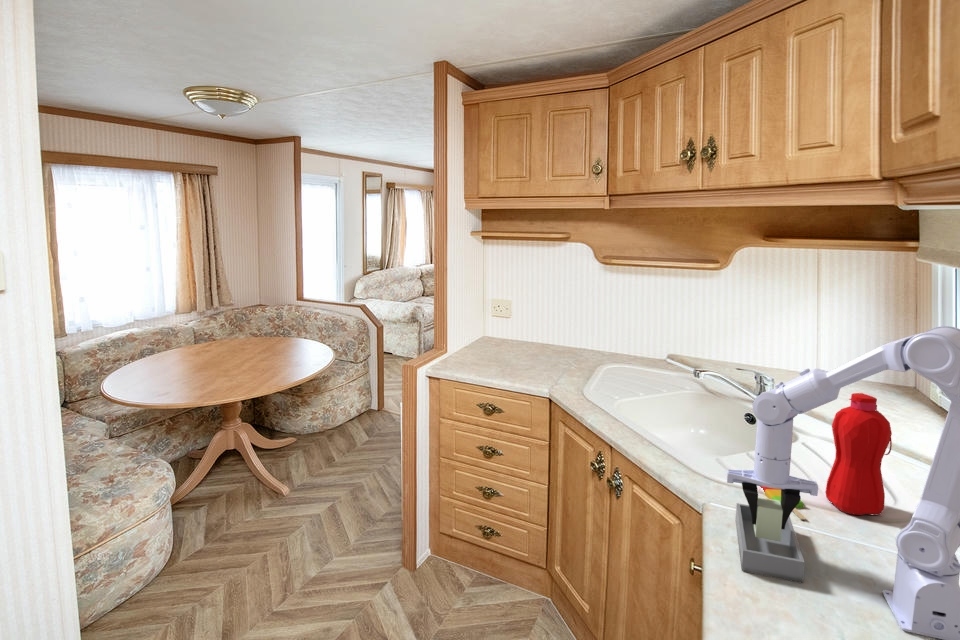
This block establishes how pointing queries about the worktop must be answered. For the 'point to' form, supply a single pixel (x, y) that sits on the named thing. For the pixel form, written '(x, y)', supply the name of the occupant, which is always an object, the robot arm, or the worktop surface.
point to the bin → (768, 550)
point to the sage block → (768, 519)
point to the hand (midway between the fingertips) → (767, 524)
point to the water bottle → (859, 457)
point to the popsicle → (776, 495)
